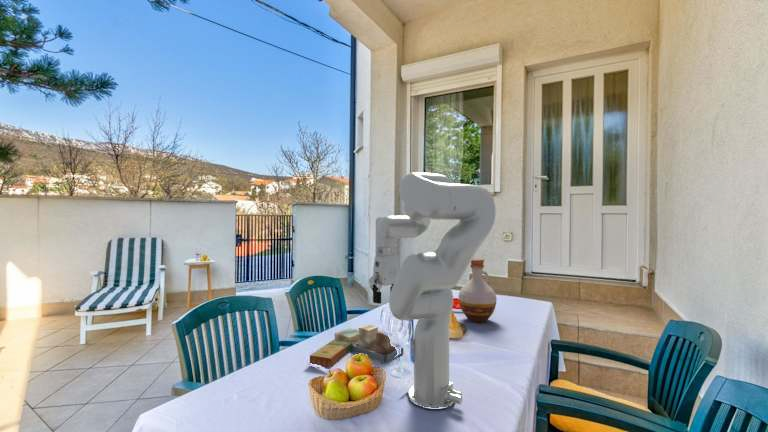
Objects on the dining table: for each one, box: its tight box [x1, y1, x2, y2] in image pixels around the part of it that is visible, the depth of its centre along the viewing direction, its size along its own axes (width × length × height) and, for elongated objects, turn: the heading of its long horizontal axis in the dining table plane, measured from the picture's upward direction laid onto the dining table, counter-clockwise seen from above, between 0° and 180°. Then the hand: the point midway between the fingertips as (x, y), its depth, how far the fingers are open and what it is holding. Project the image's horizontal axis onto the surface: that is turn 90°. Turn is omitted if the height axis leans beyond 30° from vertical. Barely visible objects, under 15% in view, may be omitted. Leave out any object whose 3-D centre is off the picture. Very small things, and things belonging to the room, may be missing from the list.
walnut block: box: [376, 329, 396, 355], centre depth 115 cm, size 5×5×8 cm
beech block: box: [358, 324, 379, 351], centre depth 121 cm, size 5×5×8 cm
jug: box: [458, 257, 497, 324], centre depth 161 cm, size 20×18×30 cm
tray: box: [350, 342, 404, 364], centre depth 118 cm, size 16×10×3 cm, turn 51°
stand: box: [334, 327, 359, 345], centre depth 127 cm, size 8×8×5 cm
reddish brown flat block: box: [309, 339, 352, 368], centre depth 114 cm, size 8×16×4 cm, turn 160°
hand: (385, 300), depth 116 cm, fingers open, 9 cm apart
